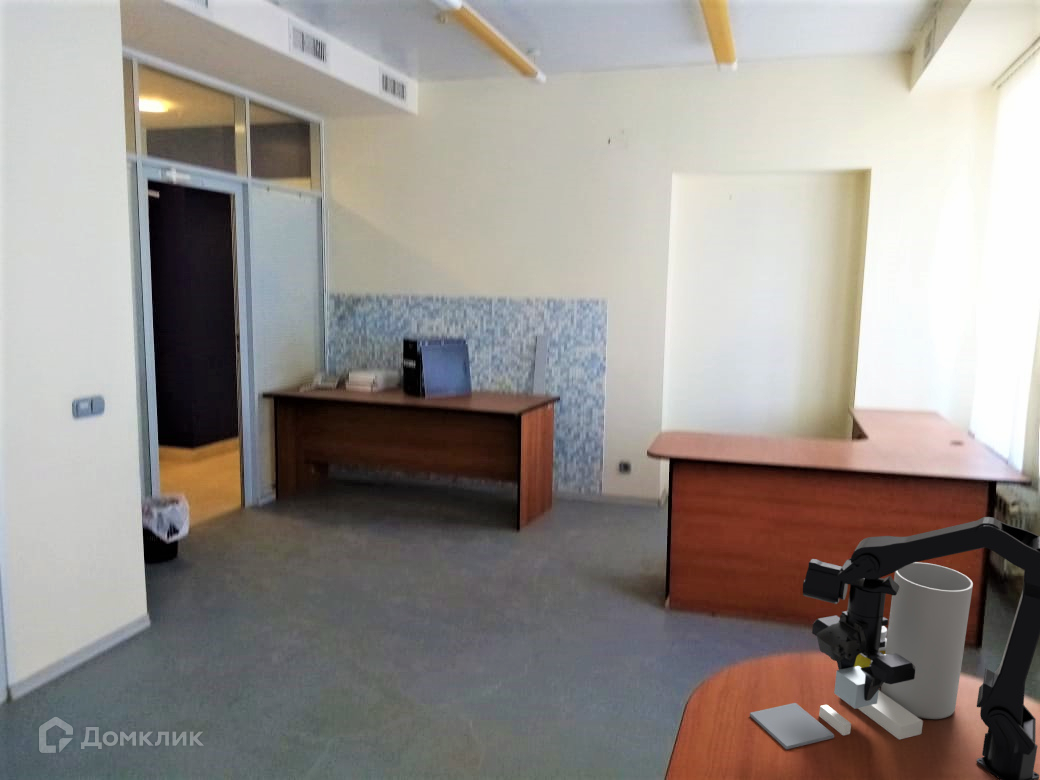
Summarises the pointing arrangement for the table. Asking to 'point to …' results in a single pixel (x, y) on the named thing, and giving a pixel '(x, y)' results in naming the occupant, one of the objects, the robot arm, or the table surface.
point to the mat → (791, 725)
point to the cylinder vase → (929, 637)
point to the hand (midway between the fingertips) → (856, 691)
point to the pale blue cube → (852, 687)
